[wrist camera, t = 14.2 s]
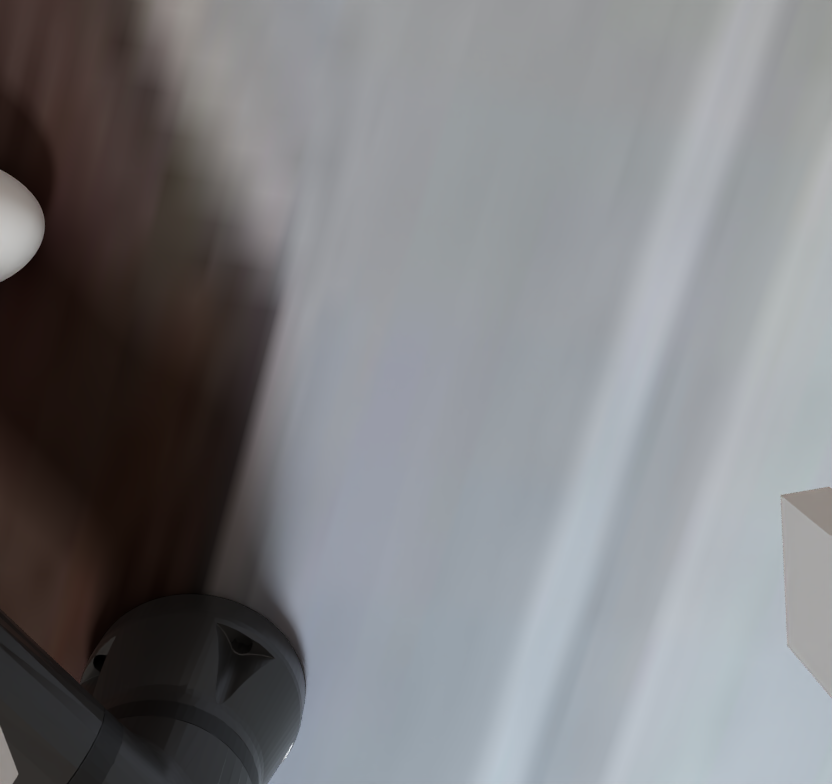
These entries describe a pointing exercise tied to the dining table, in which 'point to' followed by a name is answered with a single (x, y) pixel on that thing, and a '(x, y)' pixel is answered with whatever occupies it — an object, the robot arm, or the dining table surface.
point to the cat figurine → (18, 225)
